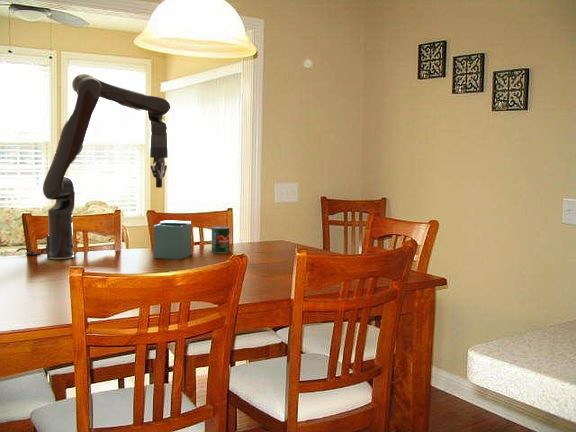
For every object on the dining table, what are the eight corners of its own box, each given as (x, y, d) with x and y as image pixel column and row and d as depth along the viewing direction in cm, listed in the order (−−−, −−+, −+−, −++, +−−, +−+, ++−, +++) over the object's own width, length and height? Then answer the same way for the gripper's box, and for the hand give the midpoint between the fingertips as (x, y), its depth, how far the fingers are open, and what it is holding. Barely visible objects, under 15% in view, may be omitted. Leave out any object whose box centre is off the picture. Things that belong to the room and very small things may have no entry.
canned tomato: (223, 253, 261) (223, 228, 260) (208, 252, 264) (207, 227, 263) (232, 251, 268) (232, 226, 267) (217, 250, 271) (217, 225, 270)
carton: (154, 258, 248) (153, 225, 247) (164, 253, 260) (164, 222, 259) (181, 259, 246) (181, 226, 245) (191, 254, 258) (191, 223, 257)
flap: (159, 223, 253) (159, 222, 253) (164, 221, 258) (164, 220, 258) (186, 224, 251) (186, 223, 251) (191, 222, 257) (191, 221, 256)
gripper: (161, 146, 248) (161, 188, 249) (172, 146, 261) (173, 186, 262) (144, 146, 249) (144, 188, 251) (156, 146, 262) (156, 186, 264)
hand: (159, 187), depth 257 cm, fingers closed
